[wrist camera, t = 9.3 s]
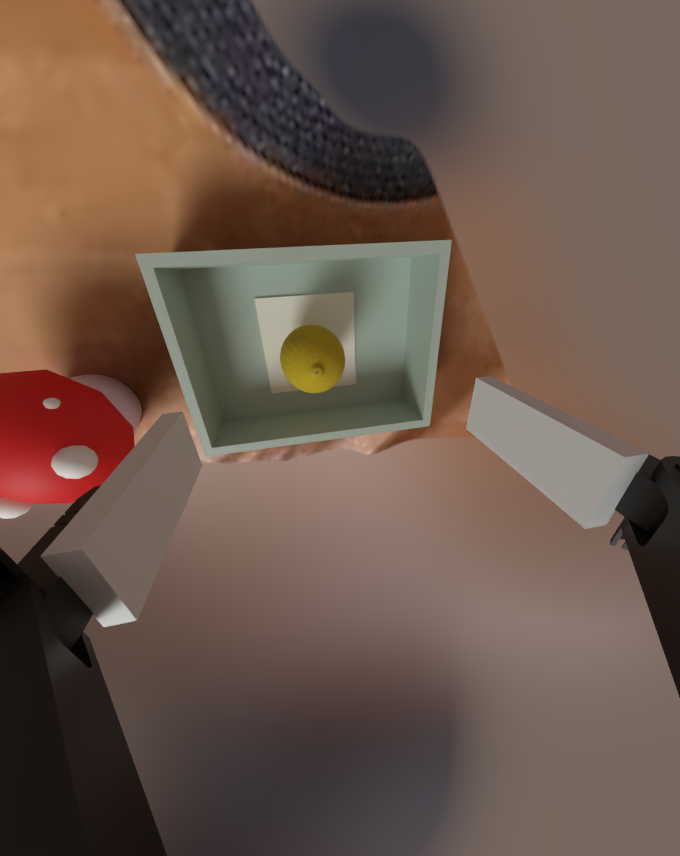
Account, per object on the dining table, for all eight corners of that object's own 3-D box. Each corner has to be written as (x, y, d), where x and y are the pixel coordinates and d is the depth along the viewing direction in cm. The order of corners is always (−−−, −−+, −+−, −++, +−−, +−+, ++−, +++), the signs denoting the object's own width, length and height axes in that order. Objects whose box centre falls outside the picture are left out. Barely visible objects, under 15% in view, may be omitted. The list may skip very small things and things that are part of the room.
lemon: (321, 308, 26) (335, 319, 19) (345, 361, 29) (364, 387, 22) (269, 335, 26) (264, 356, 19) (297, 385, 29) (302, 418, 22)
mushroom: (46, 442, 28) (-90, 537, 18) (23, 334, 24) (-177, 378, 14) (163, 455, 31) (104, 543, 21) (163, 361, 27) (87, 414, 16)
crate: (170, 259, 23) (134, 253, 18) (415, 247, 26) (451, 239, 20) (219, 423, 31) (205, 456, 25) (405, 401, 34) (429, 426, 28)
